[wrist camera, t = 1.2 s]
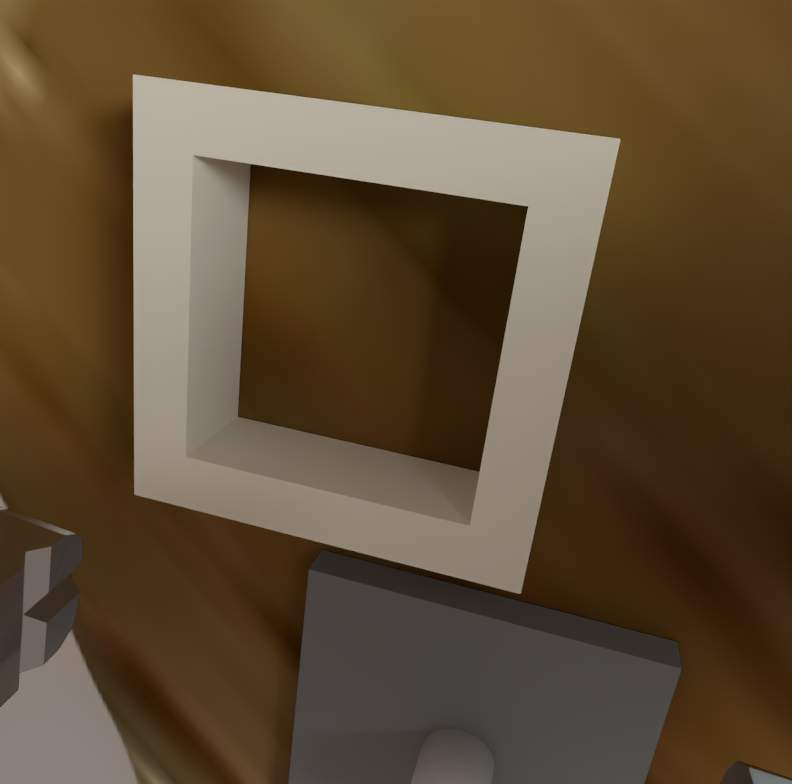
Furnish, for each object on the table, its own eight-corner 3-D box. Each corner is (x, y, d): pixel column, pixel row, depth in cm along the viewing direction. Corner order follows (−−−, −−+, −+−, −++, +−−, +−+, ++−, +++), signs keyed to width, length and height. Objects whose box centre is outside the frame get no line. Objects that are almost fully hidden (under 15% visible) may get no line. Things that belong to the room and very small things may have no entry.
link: (617, 138, 23) (620, 138, 19) (531, 533, 28) (520, 594, 24) (200, 83, 25) (132, 74, 22) (190, 451, 30) (134, 494, 27)
